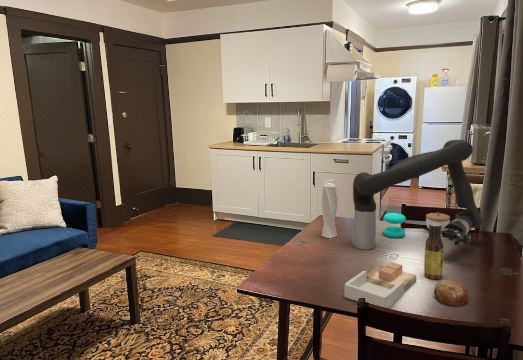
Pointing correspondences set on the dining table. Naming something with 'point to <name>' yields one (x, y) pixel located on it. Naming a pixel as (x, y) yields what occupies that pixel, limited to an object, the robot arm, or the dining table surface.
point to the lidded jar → (437, 219)
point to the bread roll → (450, 293)
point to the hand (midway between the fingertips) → (443, 240)
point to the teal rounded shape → (393, 230)
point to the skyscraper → (329, 209)
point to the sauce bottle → (434, 253)
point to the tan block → (395, 267)
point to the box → (372, 291)
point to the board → (404, 277)
